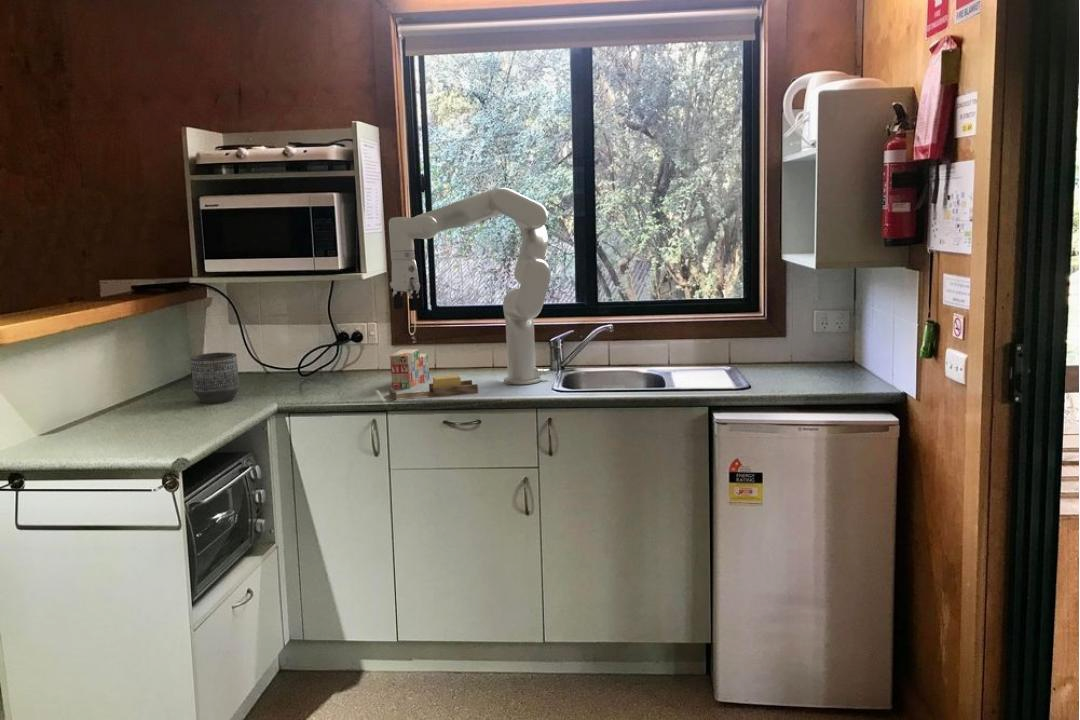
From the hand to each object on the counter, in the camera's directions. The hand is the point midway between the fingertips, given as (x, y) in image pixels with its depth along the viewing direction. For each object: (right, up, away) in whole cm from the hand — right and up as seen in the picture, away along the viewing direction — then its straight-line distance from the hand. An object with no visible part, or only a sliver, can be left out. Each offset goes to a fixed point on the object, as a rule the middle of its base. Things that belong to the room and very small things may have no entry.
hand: (406, 309), depth 304 cm
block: (+13, -27, -1) cm, 30 cm away
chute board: (+9, -28, -2) cm, 29 cm away
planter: (-62, -30, +3) cm, 69 cm away
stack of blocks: (-1, -25, +19) cm, 32 cm away
